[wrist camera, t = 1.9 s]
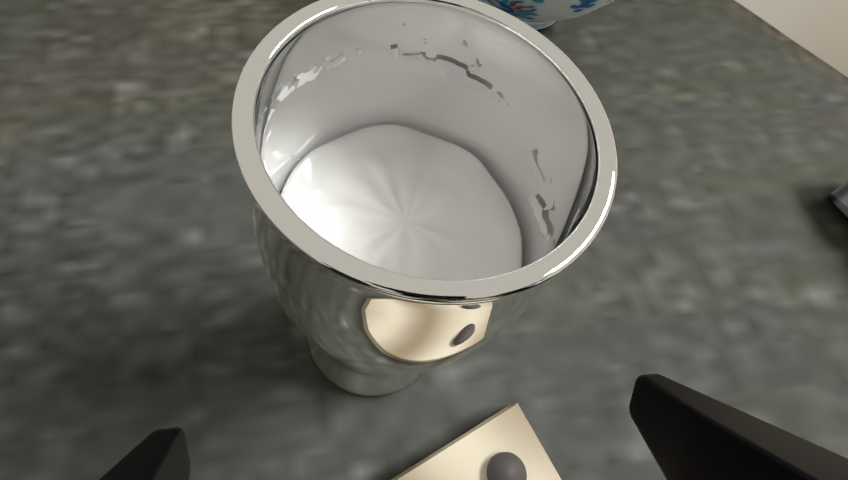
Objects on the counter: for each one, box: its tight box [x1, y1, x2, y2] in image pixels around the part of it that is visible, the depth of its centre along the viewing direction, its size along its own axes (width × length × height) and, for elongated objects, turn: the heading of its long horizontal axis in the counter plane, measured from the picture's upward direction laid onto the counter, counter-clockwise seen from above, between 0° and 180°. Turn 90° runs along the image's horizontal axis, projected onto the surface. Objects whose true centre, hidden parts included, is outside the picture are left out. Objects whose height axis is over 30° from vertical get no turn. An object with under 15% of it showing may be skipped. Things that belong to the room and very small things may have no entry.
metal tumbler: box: [231, 0, 617, 396], centre depth 14 cm, size 7×7×15 cm
